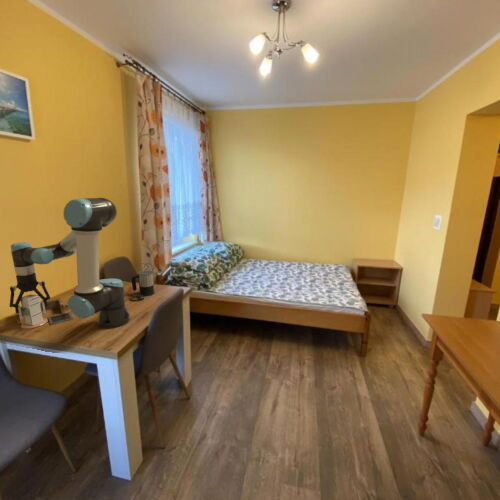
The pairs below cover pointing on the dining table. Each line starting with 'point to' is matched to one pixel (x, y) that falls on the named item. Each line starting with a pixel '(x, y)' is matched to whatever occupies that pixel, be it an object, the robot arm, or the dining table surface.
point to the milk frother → (143, 284)
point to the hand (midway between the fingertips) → (33, 315)
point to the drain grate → (60, 318)
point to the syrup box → (31, 309)
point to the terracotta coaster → (24, 326)
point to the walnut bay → (50, 305)
